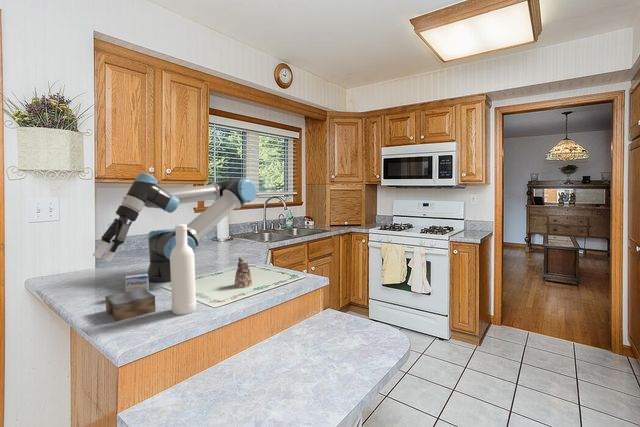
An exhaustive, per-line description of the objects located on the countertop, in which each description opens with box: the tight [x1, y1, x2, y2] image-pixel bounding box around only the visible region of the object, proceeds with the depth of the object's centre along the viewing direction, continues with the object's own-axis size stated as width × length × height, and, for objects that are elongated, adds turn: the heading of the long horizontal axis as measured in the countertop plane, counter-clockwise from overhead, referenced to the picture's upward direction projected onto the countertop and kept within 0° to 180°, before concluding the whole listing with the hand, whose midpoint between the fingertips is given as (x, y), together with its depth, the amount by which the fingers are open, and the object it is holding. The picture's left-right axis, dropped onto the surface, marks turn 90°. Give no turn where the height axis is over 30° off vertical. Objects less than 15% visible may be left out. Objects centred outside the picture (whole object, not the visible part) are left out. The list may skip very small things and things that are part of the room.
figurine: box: [234, 257, 253, 289], centre depth 147 cm, size 7×7×12 cm
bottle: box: [170, 224, 197, 316], centre depth 117 cm, size 8×8×30 cm
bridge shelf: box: [104, 289, 157, 322], centre depth 117 cm, size 12×12×6 cm
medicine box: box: [124, 273, 150, 293], centre depth 133 cm, size 8×4×9 cm, turn 118°
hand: (101, 258), depth 127 cm, fingers open, 13 cm apart
